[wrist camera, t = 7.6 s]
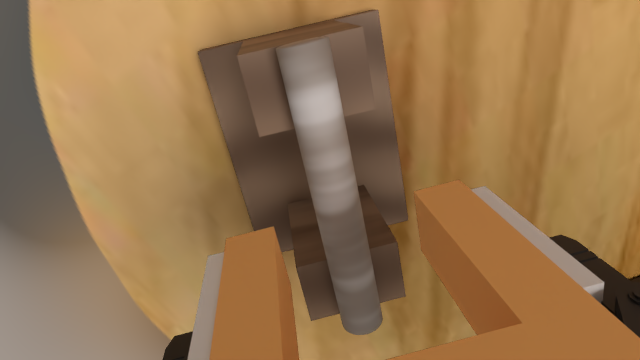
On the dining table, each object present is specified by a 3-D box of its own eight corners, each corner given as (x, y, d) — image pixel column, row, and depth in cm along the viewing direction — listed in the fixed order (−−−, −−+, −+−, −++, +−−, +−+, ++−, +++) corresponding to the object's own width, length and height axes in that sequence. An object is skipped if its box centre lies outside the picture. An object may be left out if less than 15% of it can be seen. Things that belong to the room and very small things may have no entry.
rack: (402, 211, 35) (468, 307, 24) (262, 247, 35) (263, 361, 24) (372, 9, 29) (443, 12, 18) (200, 49, 29) (162, 78, 17)
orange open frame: (464, 239, 19) (654, 458, 10) (246, 295, 19) (233, 578, 9) (459, 179, 18) (670, 365, 9) (226, 238, 17) (189, 498, 8)
